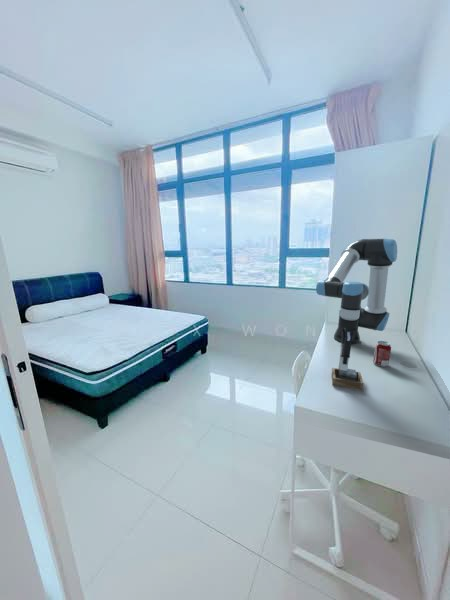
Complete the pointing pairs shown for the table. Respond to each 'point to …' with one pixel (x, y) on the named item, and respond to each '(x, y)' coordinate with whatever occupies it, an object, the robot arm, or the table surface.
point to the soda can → (382, 353)
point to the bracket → (350, 372)
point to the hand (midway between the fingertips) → (343, 366)
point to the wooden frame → (347, 381)
